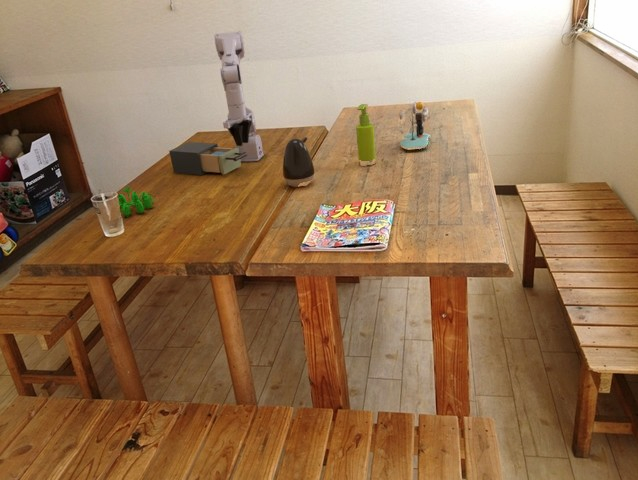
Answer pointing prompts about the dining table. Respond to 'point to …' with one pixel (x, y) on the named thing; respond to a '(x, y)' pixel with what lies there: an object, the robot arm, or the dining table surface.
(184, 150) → the cabinet
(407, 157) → the dining table surface
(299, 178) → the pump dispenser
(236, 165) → the drawer
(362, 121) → the soap dispenser
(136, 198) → the green lumpy piece
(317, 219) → the dining table surface
